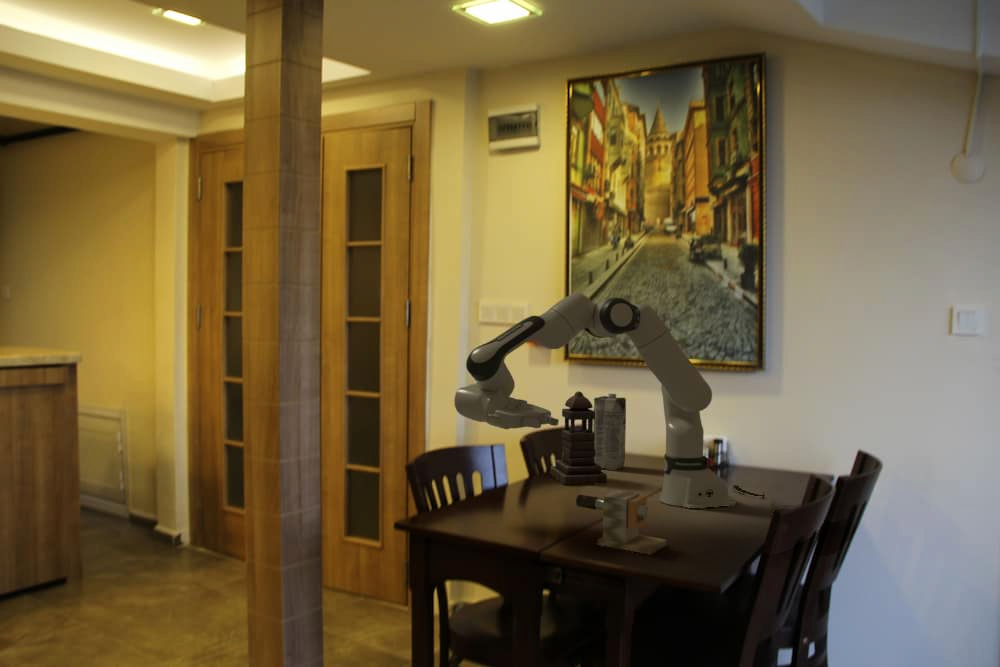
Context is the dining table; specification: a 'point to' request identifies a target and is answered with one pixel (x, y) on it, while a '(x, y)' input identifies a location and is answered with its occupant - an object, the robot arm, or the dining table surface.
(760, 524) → the dining table surface
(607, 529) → the bearing frame
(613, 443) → the battery
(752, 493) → the curved wedge
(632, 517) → the orange upright panel
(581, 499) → the shaft
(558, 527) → the dining table surface
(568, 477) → the miniature tower
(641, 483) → the dining table surface
